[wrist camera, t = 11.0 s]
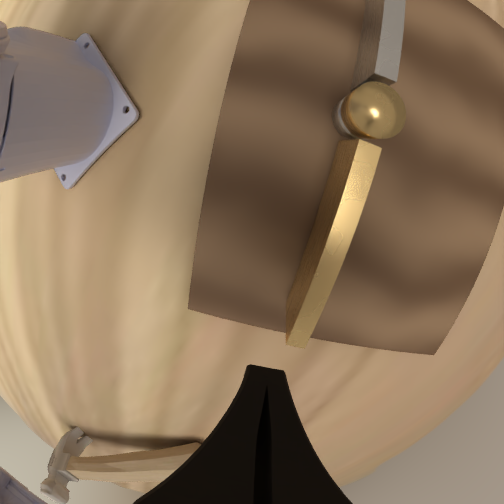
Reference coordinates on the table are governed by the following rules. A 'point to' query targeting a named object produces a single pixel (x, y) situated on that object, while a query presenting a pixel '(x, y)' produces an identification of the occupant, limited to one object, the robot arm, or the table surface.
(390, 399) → the table surface
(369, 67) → the strip
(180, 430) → the table surface
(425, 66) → the walnut board
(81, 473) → the hammer
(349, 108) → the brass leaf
